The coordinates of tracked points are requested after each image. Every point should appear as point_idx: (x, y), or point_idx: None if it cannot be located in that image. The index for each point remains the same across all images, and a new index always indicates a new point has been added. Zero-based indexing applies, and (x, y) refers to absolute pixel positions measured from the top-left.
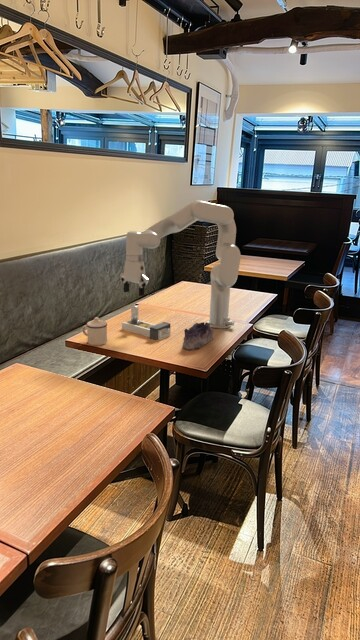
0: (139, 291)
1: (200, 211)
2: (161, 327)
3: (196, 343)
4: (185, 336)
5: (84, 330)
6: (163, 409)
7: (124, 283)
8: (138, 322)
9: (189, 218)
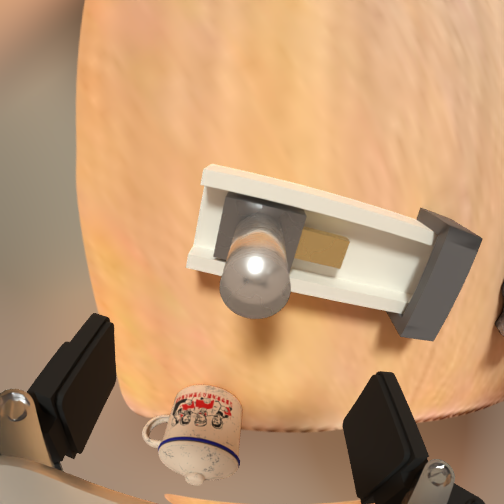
0: (359, 465)
1: None
2: (450, 308)
3: None
4: None
5: (148, 425)
6: None
7: (58, 459)
8: (286, 238)
9: None
